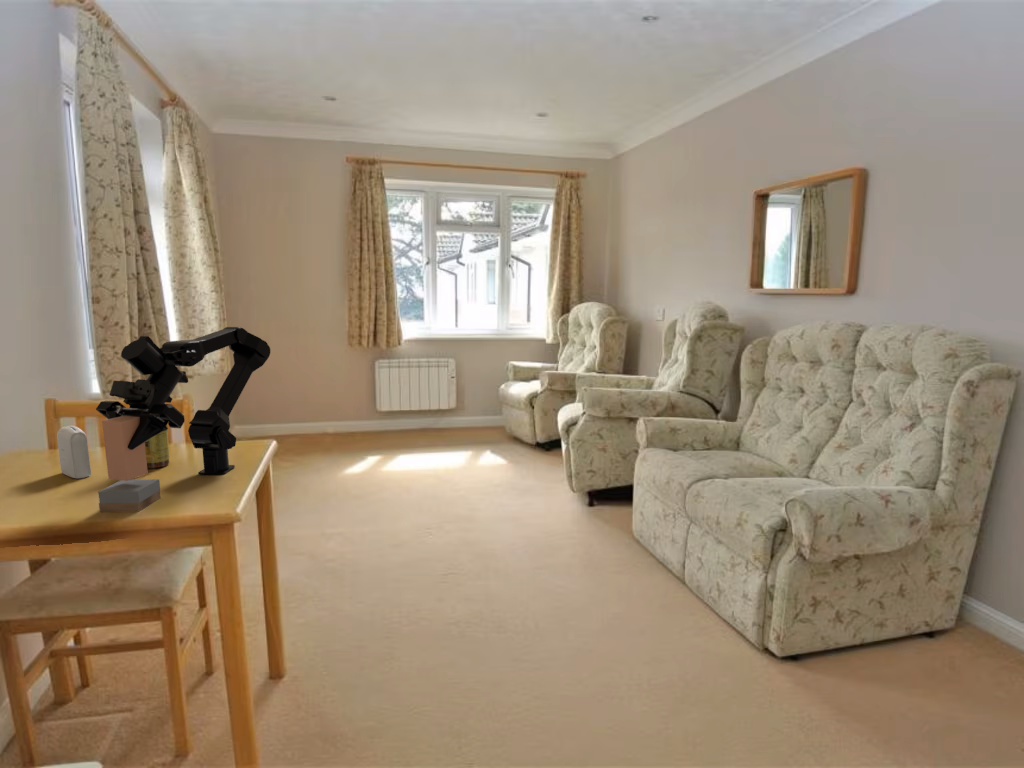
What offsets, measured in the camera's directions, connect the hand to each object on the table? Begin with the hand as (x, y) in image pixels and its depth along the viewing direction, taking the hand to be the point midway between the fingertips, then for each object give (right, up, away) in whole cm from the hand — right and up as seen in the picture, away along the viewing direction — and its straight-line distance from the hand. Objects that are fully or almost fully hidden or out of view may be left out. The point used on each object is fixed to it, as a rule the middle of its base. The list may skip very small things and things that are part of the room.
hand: (119, 448), depth 124 cm
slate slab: (+1, -11, +3) cm, 11 cm away
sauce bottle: (-11, -8, +32) cm, 35 cm away
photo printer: (-27, -9, +25) cm, 38 cm away
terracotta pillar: (0, -6, +2) cm, 7 cm away
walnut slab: (0, -13, +3) cm, 13 cm away
